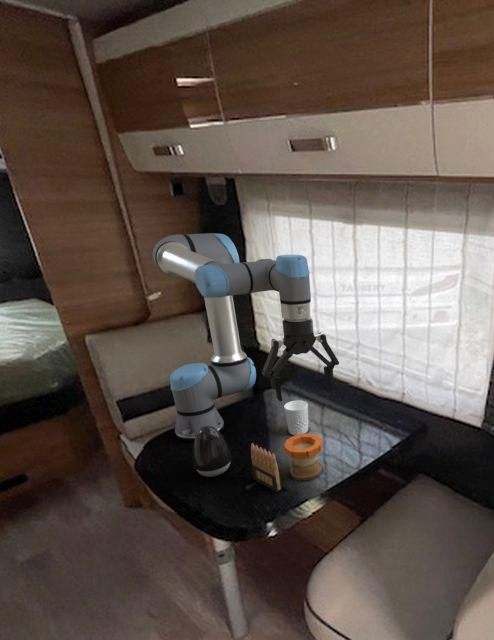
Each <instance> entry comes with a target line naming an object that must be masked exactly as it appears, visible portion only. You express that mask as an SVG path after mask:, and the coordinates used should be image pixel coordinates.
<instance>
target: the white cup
mask: <svg viewBox="0 0 494 640" xmlns="http://www.w3.org/2000/svg"><path fill="white" fill-rule="evenodd" d="M283 409H284V415H285V420H286V425H287V430H288V433H289V435H292V436H295V435H298V434H299V435H301V434H307V432H308V431H309V403H308V402H307V401H305V400H301V399H299V400H291V401H288V402H286V403H285V404H284V405H283Z"/></svg>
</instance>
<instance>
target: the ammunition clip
mask: <svg viewBox="0 0 494 640" xmlns="http://www.w3.org/2000/svg"><path fill="white" fill-rule="evenodd" d="M250 454H251V455H250V456H251V457H250V458H251V464H250V466H251V474H252V479H253V480H254V481H256V482H258V483H260V484H261V485H263V486H265V487H266V488H268V489H271V490H272V491H274V492H276V493H277V492H278V493H279V491H281V490H283V484H282V478H281V477H282V476H281V473H280V472H279V466H278V464H277V462H278V461H277V458H276V455H275V453H274V452H272V453H271V452H270V450H268V451H267V449H266V448H262V447H261V446H258V445H257V444H254V443H253V442H251V445H250Z"/></svg>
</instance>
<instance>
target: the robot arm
mask: <svg viewBox="0 0 494 640" xmlns="http://www.w3.org/2000/svg"><path fill="white" fill-rule="evenodd" d="M152 259H153V262H154V264H155V266H156V267H157V268H158V269H159V270H160V271H161V272H163V273H164V274H166V275H169V276H171V277H174V278H175V277H176V278H179V277H180V278H182V279H185V280H188V281H189V282H191V283H193V284H195V286H196V288H197V290H198V292H199V293H200V295H201V296H202V297H203V298H204V299H203V300H204V304H205V309H206V310H205V311H206V315H207V320H208V326H209V332H210V336H211V341H212V347H213V352H214V354H213V355H212V356H211V357H210V363H211V364H210V365H207V364H206V363H203V362H196V363H188V364H185V365H182V366H179V367H178V368H176V369H175V370H173V372H171V373H170V376H169V383H170V391H171V393H172V396H173V400H174V401H173V402H174V405H175V410H176V423H175V428H174V433H175V437H176V439H178V440H180V441H184V442H194V439H195V436H196V433H197V432H198V430H199V429H200V428H201V427H203V426H208V425H209V426H213V427H215V428H216V429H217V430H218V431H219V432H220V433H222V432H223V431H224V429H225V422H224V421H225V420H224V419H223V418H222V416H221V415H220V413H219V411H218V409H217V407H216V404H215V400H217V399H220V398H224V397H228V396H231V395H235V394H238V393H243V392H245V391H247V390H250V389H252V388H253V387H254V385H255V383H256V380H257V379H256V378H257V370H256V366H255V363H254V361H253V360H252V359H251V357H248V356H247V353H246V352H244V351H243V350H242V347H241V341H240V335H239V328H238V323H237V316H236V315H237V314H236V309H235V304H234V298H233V297H234V296H237V295H245V294H253V293H254V294H255V293H262V292H269V291H274V292H278V294H279V295H278V296H279V303H280V312H281V318H282V319H283V320H281V323H282V332H283V338H282V339H276V338H272V339H271V341H270V343H271V344H270V345H271V347H270V350H269V352H268V355H267V358H266V360H265V363H264V366H263V368H262V371H261V374H262V376H263V377H264V378H270V386H271V388H272V390H273V391H274V390H275V395H276V399H277V400H278V402H282V401H283V395H282V387H281V386H282V385H281V379H280V377H279V376H278V375H279V374H280V372H281V371H282V370H283V368H284V367H285V366H286V364H287V363H288V361H289V359H291V358H292V356H293V355H295V356H298V355H301V354H303V355H304V354H308V353H309V352H311V353H312V354H314V355H315V357H317V358H318V359H319V360H320V361H321V362H322V363H323V364H325V366H323V377H324V379H323V380H324V388H325V389H326V391H327V392H331V391H332V384H331V383H332V381H331V379H334V369H335V366H339V365H340V361H339V359H338V357H337V356H336V354H335V353H334V351H333V350H332V348H331V346H330V344H329V343H328V339H327V336H326V334H325V333H323V332H318V334H314V333H315V332H314V321H313V318H312V317H313V308H312V307H313V306H312V297H311V282H310V281H311V280H310V278H311V277H310V269H309V263H308V258H307V257H306V256H305V255H302V254H280V255H277V257H276V259H272V258H260V259H257V260H255V261H244V262H243V261H242V262H240V257H239V253H238V250H237V248H236V245H235V244H234V242H233V241H232V239H231V238H230V237H229V236H227V235H226V234H223V233H212V232H209V233H208V232H207V233H187V234H181V233H179V234H171V235H168V236H166V237H164V238H162V239H161V240H159V241H158V242H157V243H156V244H155V245H154V247H153V250H152ZM316 341H317V342H319V343H320V344H321V346H322V348H323V349H324V351H325V353H326V354H327V355H328V358H329V359H330V360H328V359H327V358H326V357H325V356H324V355H323V354H322V353H321V352H320V351H318V350H317V348H315V347H314V344H315V343H316ZM282 346H284V347H285V348H284V350H283V351H282V354H281V355H280V356H279V358H278V360H277V361H276V359H277V356H278V353H279V350H280V349H281V348H282ZM275 361H276V362H275Z"/></svg>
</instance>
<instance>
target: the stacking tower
mask: <svg viewBox="0 0 494 640" xmlns="http://www.w3.org/2000/svg"><path fill="white" fill-rule="evenodd" d="M313 445H314V444H312V443H300V444H298V445H295V446H294V447H295V448H296V449H306V448H308V447H310V446H313ZM318 454H319V453H318ZM318 454H316V455H314V456H312V457H307V458H294V457H292V458H291V460H290V461H291V467H290V469H289V474H290V476H291V478H292V479H294V480H296V481H303V482H304V481H310V480H313V479H316V478H317V477H319V476H320V475H321V473H322V471H323V466H322V464H321V463H320V458H319V455H318Z"/></svg>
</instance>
